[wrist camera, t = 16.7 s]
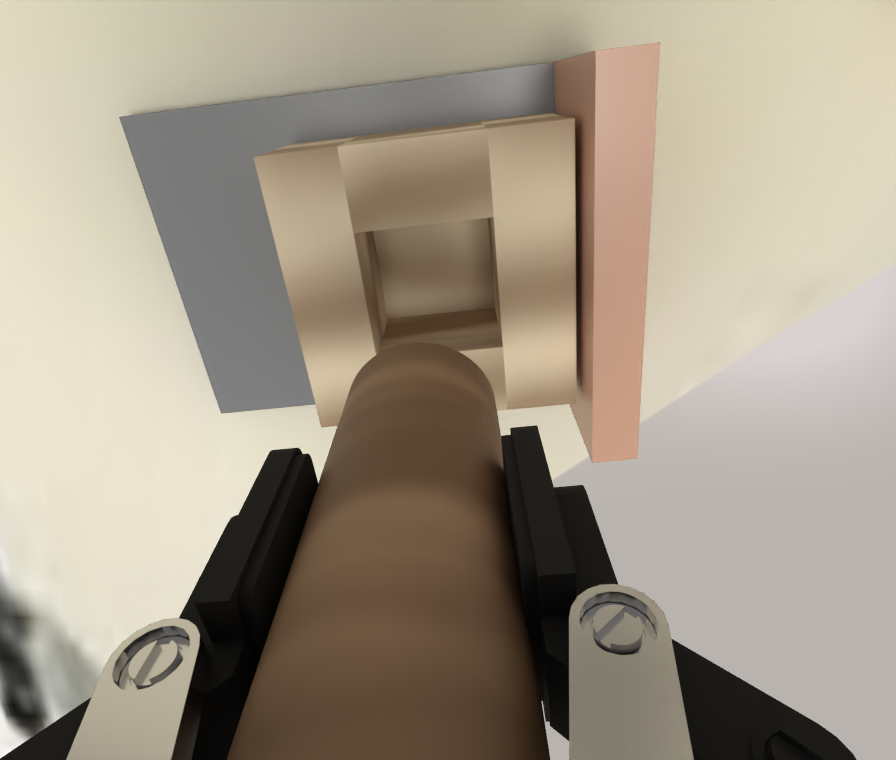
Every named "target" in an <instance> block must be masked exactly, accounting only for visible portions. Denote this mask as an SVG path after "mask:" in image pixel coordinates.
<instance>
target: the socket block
mask: <svg viewBox="0 0 896 760" xmlns="http://www.w3.org/2000/svg"><path fill="white" fill-rule="evenodd" d="M253 158H254V162H255V166H256V170H257V174H258V178H259V182H260V186H261V190H262V194H263V198H264V202H265V205H266V209H267V213H268V217H269V221H270V225H271V229H272V233H273V237H274V241H275V245H276V249H277V253H278V257H279V261H280V265H281V269H282V273H283V277H284V281H285V285H286V289H287V293H288V297H289V301H290V305H291V309H292V313H293V317H294V320H295V324H296V328H297V332H298V336H299V340H300V344H301V348H302V352H303V356H304V360H305V364H306V368H307V372H308V376H309V380H310V384H311V388H312V392H313V396H314V400H315V404H316V408H317V412H318V416H319V420H320V424H321V427H329V426H338V424H339V421H340V418H341V415H342V412H343V409H344V406H345V403H346V400H347V397H348V394H349V391H350V388H351V385H352V383H353V381H354V379H355V377H356V375H357V374H358V372H359V371H360V369H361V368H362V367H363V366H364V365H365V364H366V363H367V362H368V361H369V360H370V359H372V358H373V357H374V356H376V355H377V354H379V353H381V352H382V351H384V350H387V349H389V348H391V347H394V346H398V345H401V344H407V343H419V342H423V343H434V344H438V345H443V346H446V347H449V348H452V349H454V350H456V351H458V352H460V353H462V354H464V355H465V356H467V357H468V358H470V359H471V360H472V361H473V362H474V363H476V364H477V365H478V367H479V368H480V369H481V370H482V371H483V372H484V374H485V375H486V377H487V378H488V380H489V382H490V384H491V386H492V389H493V392H494V396H495V402H496V408H497V411H498V410H509V409H520V408H530V407H541V406H551V405H562V404H572V403H577V375H576V209H575V118H572V117H567V116H562V115H558V114H553V113H541V114H533V115H525V116H517V117H508V118H500V119H492V120H484V121H475V122H467V123H459V124H451V125H442V126H434V127H426V128H418V129H409V130H401V131H393V132H385V133H377V134H368V135H360V136H352V137H344V138H335V139H327V140H319V141H311V142H302V143H294V144H290V145H287V146H284V147H281V148H278V149H276V150H273V151H270V152H267V153H264V154H261V155H258V156H255V157H253Z"/></svg>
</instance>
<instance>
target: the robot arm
mask: <svg viewBox="0 0 896 760" xmlns="http://www.w3.org/2000/svg"><path fill="white" fill-rule="evenodd" d="M501 443H502V455H503V468H504V476H505V483H506V490H507V497H508V503H509V510H510V517H511V524H512V531H513V538H514V545H515V551H516V558H517V565H518V572H519V579H520V586H521V593H522V599H523V606H524V613H525V620H526V626H527V628H528V631H529V633H530V636H531V639H532V644H533V651H534V657H535V664H536V670H537V677H538V683H539V690H540V696H541V701H543V705H544V712H545V718H546V721H547V722H548V721H549V722H550V726H551V727H552V728H553V729H555V730H556V731H557V732H558V733H560V734H561V735H562V736H563V737H565V738H566V739H567V740H568V741H569V760H856V758H855V757H854V755H853V754H852V753H851V752H850V750H848V748H846V746H845V745H844V744H843V743H842V742H841V741H840V740H839V739H838V738H837V737H836V736H834V735H833V734H832V733H830V732H829V731H827V730H826V729H825V728H823V727H822V726H820V725H819V724H817V723H816V722H814V721H812V720H811V719H809V718H807V717H805V716H804V715H802V714H800V713H799V712H797V711H795V710H793V709H792V708H790V707H788V706H786V705H785V704H783V703H781V702H779V701H778V700H776V699H774V698H773V697H771V696H769V695H767V694H766V693H764V692H762V691H760V690H759V689H757V688H755V687H754V686H752V685H750V684H748V683H747V682H745V681H743V680H742V679H740V678H738V677H736V676H735V675H733V674H731V673H730V672H728V671H726V670H724V669H723V668H721V667H719V666H717V665H716V664H714V663H712V662H711V661H709V660H707V659H705V658H704V657H702V656H700V655H698V654H697V653H695V652H693V651H692V650H690V649H688V648H686V647H685V646H683V645H681V644H680V643H678V642H676V641H674V640H673V639H671V634H670V630H669V624H668V622H667V619H666V617H665V614H664V612H663V611H662V610H661V609H660V607H659V606H658V605H657V603H656V602H655V601H654V600H652V599H651V598H650V597H648V596H647V595H646V594H644V593H643V592H640V591H638V590H636V589H633V588H631V587H628V586H623V585H618V582H617V580H616V577H615V574H614V571H613V568H612V565H611V562H610V559H609V556H608V554H607V551H606V548H605V545H604V542H603V539H602V536H601V533H600V530H599V527H598V525H597V522H596V519H595V516H594V513H593V510H592V507H591V504H590V501H589V499H588V495H587V493H586V490H585V488H584V486H583V485H577V486H566V487H553V483H552V480H551V476H550V472H549V468H548V465H547V461H546V457H545V453H544V450H543V446H542V442H541V438H540V435H539V431H538V427H537V426H526V427H516V428H511V435H504V436H501ZM317 487H318V481H317V477H316V474H315V470H314V466H313V462H312V459H311V456H310V455H309V454H302V452H301V450H300V449H299V448H291V449H280V450H272V451H270V453H269V454H268V456H267V458H266V460H265V462H264V464H263V466H262V468H261V470H260V472H259V474H258V476H257V478H256V480H255V482H254V484H253V486H252V488H251V490H250V492H249V494H248V496H247V498H246V501H245V503H244V505H243V507H242V509H241V511H240V513H239V515H236V516H234V517H232V518H231V519H230V521H229V522H228V524H227V526H226V528H225V530H224V531H223V533H222V535H221V537H220V539H219V541H218V543H217V545H216V547H215V549H214V551H213V553H212V555H211V557H210V559H209V561H208V563H207V565H206V567H205V569H204V570H203V572H202V574H201V576H200V578H199V580H198V582H197V584H196V586H195V588H194V590H193V592H192V594H191V596H190V598H189V600H188V602H187V604H186V606H185V607H184V609H183V611H182V613H181V615H180V617H179V618H172V619H164V620H161V621H158V622H155V623H152V624H149V625H147V626H145V627H144V628H142V629H140V630H138V631H136V632H135V633H133V634H132V635H131V636H130V637H128V638H127V639H126V640H124V641H123V642H122V643H121V644H120V645H119V646H118V648H117V649H116V650H115V651H114V652H113V653H112V654H111V656H110V658H109V659H108V661H107V663H106V665H105V666H104V668H103V671H102V673H101V676H100V678H99V681H98V683H97V685H96V688H95V690H94V693H93V695H92V697H91V698H90V699H88V700H87V701H85V702H84V703H82V704H81V705H79V706H78V707H76V708H75V709H73V710H72V711H70V712H69V713H67V714H66V715H64V716H63V717H61V718H60V719H58V720H57V721H56V722H54V723H53V724H51V725H50V726H48V727H47V728H45V729H44V730H42V731H41V732H39V733H38V734H36V735H35V736H33V737H32V738H30V739H29V740H27V741H26V742H24V743H23V744H21V745H20V746H18V747H17V748H15V749H14V750H12V751H11V752H9V753H8V754H6V755H5V756H3V757H2V758H1V759H0V760H227V757H228V754H229V751H230V748H231V745H232V742H233V739H234V736H235V733H236V730H237V727H238V724H239V721H240V718H241V715H242V712H243V709H244V706H245V703H246V700H247V697H248V694H249V691H250V688H251V685H252V682H253V679H254V676H255V673H256V670H257V667H258V664H259V661H260V658H261V655H262V652H263V649H264V646H265V643H266V640H267V637H268V634H269V631H270V628H271V625H272V622H273V619H274V616H275V613H276V610H277V607H278V604H279V601H280V598H281V595H282V592H283V589H284V586H285V583H286V580H287V577H288V574H289V571H290V568H291V565H292V562H293V559H294V556H295V553H296V550H297V547H298V544H299V541H300V538H301V535H302V532H303V529H304V526H305V523H306V520H307V517H308V514H309V511H310V508H311V505H312V502H313V499H314V496H315V493H316V490H317Z"/></svg>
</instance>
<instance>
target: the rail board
mask: <svg viewBox="0 0 896 760" xmlns="http://www.w3.org/2000/svg"><path fill="white" fill-rule="evenodd" d="M659 49H660V42H659V43H651V44H643V45H636V46H628V47H620V48H612V49H604V50H596V51H592V52H589V53H585V54H581V55H578V56H574V57H571V58H567V59H563V60H560V61H556V62H551V63H543V64H535V65H527V66H519V67H511V68H503V69H495V70H487V71H479V72H471V73H464V74H456V75H448V76H440V77H432V78H424V79H416V80H408V81H400V82H392V83H384V84H376V85H368V86H360V87H352V88H344V89H336V90H329V91H321V92H313V93H305V94H297V95H289V96H281V97H273V98H265V99H257V100H249V101H241V102H233V103H225V104H217V105H209V106H202V107H194V108H186V109H178V110H170V111H162V112H154V113H146V114H138V115H130V116H122V117H119V118H120V121H121V124H122V127H123V129H124V132H125V135H126V138H127V141H128V144H129V147H130V150H131V153H132V156H133V158H134V161H135V164H136V167H137V170H138V173H139V176H140V179H141V182H142V185H143V188H144V190H145V193H146V196H147V199H148V202H149V205H150V208H151V211H152V214H153V217H154V220H155V222H156V225H157V228H158V231H159V234H160V237H161V240H162V243H163V246H164V249H165V251H166V254H167V257H168V260H169V263H170V266H171V269H172V272H173V275H174V278H175V281H176V283H177V286H178V289H179V292H180V295H181V298H182V301H183V304H184V307H185V310H186V313H187V315H188V318H189V321H190V324H191V327H192V330H193V333H194V336H195V339H196V342H197V344H198V347H199V350H200V353H201V356H202V359H203V362H204V365H205V368H206V371H207V374H208V376H209V379H210V382H211V385H212V388H213V391H214V394H215V397H216V400H217V403H218V406H219V408H220V411H221V413H230V412H241V411H251V410H261V409H272V408H282V407H292V406H303V405H313V404H315V400H314V396H313V392H312V388H311V384H310V380H309V376H308V372H307V368H306V364H305V360H304V356H303V352H302V348H301V344H300V340H299V336H298V332H297V328H296V324H295V320H294V317H293V313H292V309H291V305H290V301H289V297H288V293H287V289H286V285H285V281H284V277H283V273H282V269H281V265H280V261H279V257H278V253H277V249H276V245H275V241H274V237H273V233H272V229H271V225H270V221H269V217H268V213H267V209H266V205H265V202H264V198H263V194H262V190H261V186H260V182H259V178H258V174H257V170H256V166H255V162H254V158H253V157H255V156H258V155H261V154H264V153H267V152H270V151H273V150H276V149H278V148H281V147H284V146H287V145H290V144H294V143H302V142H311V141H319V140H327V139H335V138H344V137H352V136H360V135H368V134H377V133H385V132H393V131H401V130H409V129H418V128H426V127H434V126H442V125H451V124H459V123H467V122H475V121H484V120H492V119H500V118H508V117H517V116H525V115H533V114H541V113H553V114H558V115H562V116H567V117H572V118H575V209H576V375H577V403H572V404H570V407H571V409H572V412H573V415H574V417H575V420H576V422H577V425H578V427H579V430H580V433H581V435H582V438H583V440H584V443H585V446H586V448H587V451H588V453H589V456H590V459H591V461H592V463H595V462H606V461H618V460H629V459H637V456H638V438H639V420H640V401H641V383H642V364H643V346H644V327H645V309H646V290H647V272H648V253H649V235H650V216H651V198H652V179H653V161H654V142H655V123H656V105H657V86H658V68H659Z"/></svg>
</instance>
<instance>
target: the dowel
mask: <svg viewBox="0 0 896 760" xmlns="http://www.w3.org/2000/svg"><path fill="white" fill-rule="evenodd" d="M227 760H550V755H549V749H548V742H547V736H546V729H545V723H544V716H543V710H542V703H541V696H540V690H539V683H538V677H537V670H536V664H535V657H534V651H533V644H532V639H531V636H530V633H529V631H528V628H527V626H526V620H525V613H524V606H523V599H522V593H521V586H520V579H519V572H518V565H517V558H516V551H515V545H514V538H513V531H512V524H511V517H510V510H509V503H508V497H507V490H506V483H505V476H504V468H503V455H502V443H501V435H500V428H499V422H498V415H497V408H496V402H495V396H494V392H493V389H492V386H491V384H490V382H489V380H488V378H487V377H486V375H485V374H484V372H483V371H482V370H481V369H480V368H479V367H478V365H477V364H476V363H474V362H473V361H472V360H471V359H470V358H468V357H467V356H465V355H464V354H462V353H460V352H458V351H456V350H454V349H452V348H449V347H446V346H443V345H438V344H434V343H423V342H419V343H407V344H401V345H398V346H394V347H391V348H389V349H387V350H384V351H382V352H381V353H379V354H377V355H376V356H374V357H373V358H372V359H370V360H369V361H368V362H367V363H366V364H365V365H364V366H363V367H362V368H361V369H360V371H359V372H358V374H357V375H356V377H355V379H354V381H353V383H352V385H351V388H350V391H349V394H348V397H347V400H346V403H345V406H344V409H343V412H342V415H341V418H340V421H339V424H338V427H337V430H336V433H335V436H334V439H333V442H332V445H331V448H330V451H329V454H328V457H327V460H326V463H325V466H324V469H323V472H322V475H321V478H320V481H319V484H318V487H317V490H316V493H315V496H314V499H313V502H312V505H311V508H310V511H309V514H308V517H307V520H306V523H305V526H304V529H303V532H302V535H301V538H300V541H299V544H298V547H297V550H296V553H295V556H294V559H293V562H292V565H291V568H290V571H289V574H288V577H287V580H286V583H285V586H284V589H283V592H282V595H281V598H280V601H279V604H278V607H277V610H276V613H275V616H274V619H273V622H272V625H271V628H270V631H269V634H268V637H267V640H266V643H265V646H264V649H263V652H262V655H261V658H260V661H259V664H258V667H257V670H256V673H255V676H254V679H253V682H252V685H251V688H250V691H249V694H248V697H247V700H246V703H245V706H244V709H243V712H242V715H241V718H240V721H239V724H238V727H237V730H236V733H235V736H234V739H233V742H232V745H231V748H230V751H229V754H228V757H227Z"/></svg>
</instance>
